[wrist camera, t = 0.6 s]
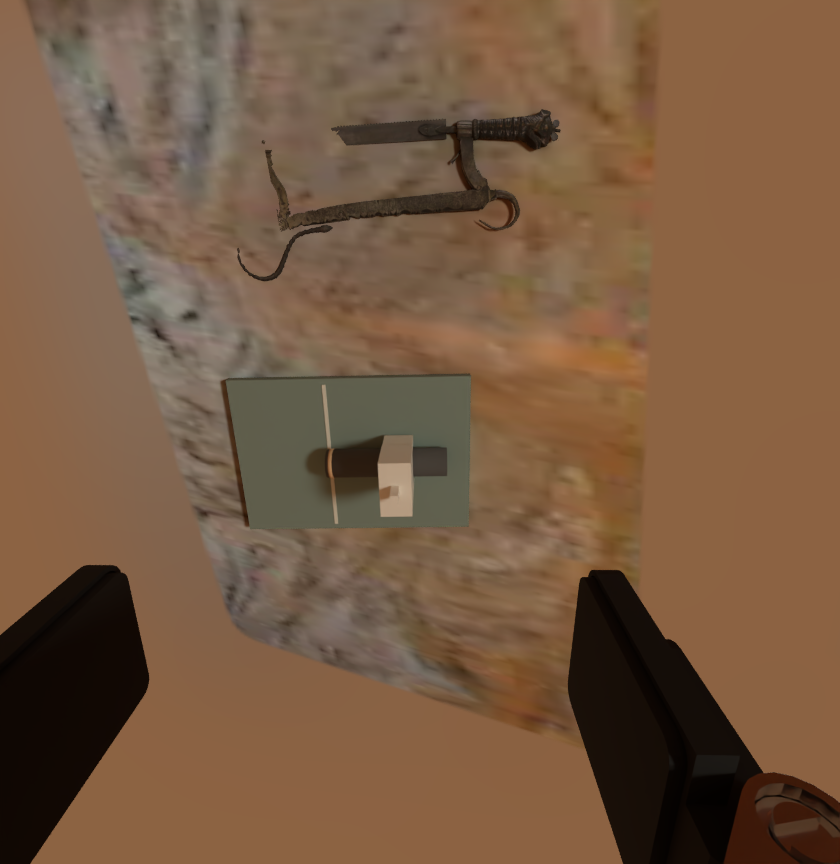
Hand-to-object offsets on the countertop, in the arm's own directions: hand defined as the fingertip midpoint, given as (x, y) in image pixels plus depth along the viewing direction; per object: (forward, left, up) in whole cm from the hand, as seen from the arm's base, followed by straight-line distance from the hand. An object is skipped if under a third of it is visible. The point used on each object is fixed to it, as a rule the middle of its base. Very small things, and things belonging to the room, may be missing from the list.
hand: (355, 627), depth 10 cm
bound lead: (+9, -2, -31) cm, 32 cm away
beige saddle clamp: (+9, -1, -30) cm, 32 cm away
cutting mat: (+9, -5, -31) cm, 33 cm away
